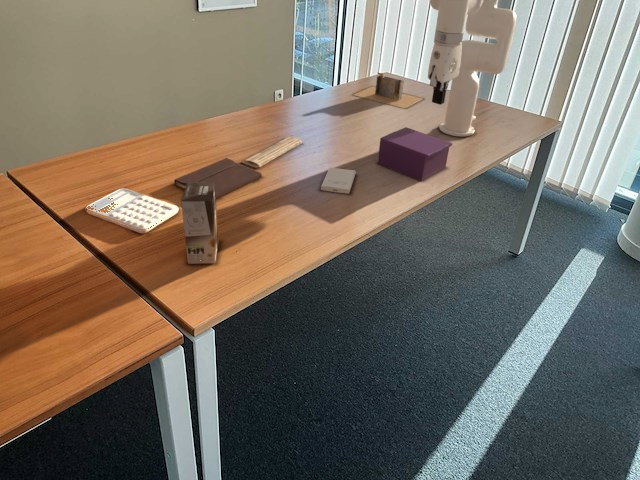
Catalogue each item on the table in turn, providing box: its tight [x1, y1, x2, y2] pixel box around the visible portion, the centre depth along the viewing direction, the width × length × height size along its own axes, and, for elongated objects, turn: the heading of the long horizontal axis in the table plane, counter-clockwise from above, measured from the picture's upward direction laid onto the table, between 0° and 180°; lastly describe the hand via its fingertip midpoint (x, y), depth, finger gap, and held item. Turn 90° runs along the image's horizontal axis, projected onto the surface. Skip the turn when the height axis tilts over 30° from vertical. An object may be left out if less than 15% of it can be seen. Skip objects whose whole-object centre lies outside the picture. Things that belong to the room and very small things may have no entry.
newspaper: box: [241, 136, 303, 169], centre depth 170 cm, size 24×7×2 cm, turn 148°
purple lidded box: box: [377, 139, 450, 182], centre depth 165 cm, size 17×14×8 cm
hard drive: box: [320, 167, 357, 194], centre depth 155 cm, size 2×8×12 cm
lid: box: [379, 126, 453, 158], centre depth 162 cm, size 17×14×1 cm
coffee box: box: [180, 182, 220, 265], centre depth 118 cm, size 9×6×16 cm
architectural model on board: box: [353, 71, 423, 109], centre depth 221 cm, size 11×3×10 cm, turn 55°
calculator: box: [85, 188, 179, 234], centre depth 135 cm, size 13×20×2 cm, turn 62°
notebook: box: [174, 157, 263, 200], centre depth 152 cm, size 15×20×2 cm
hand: (437, 102), depth 154 cm, fingers closed
